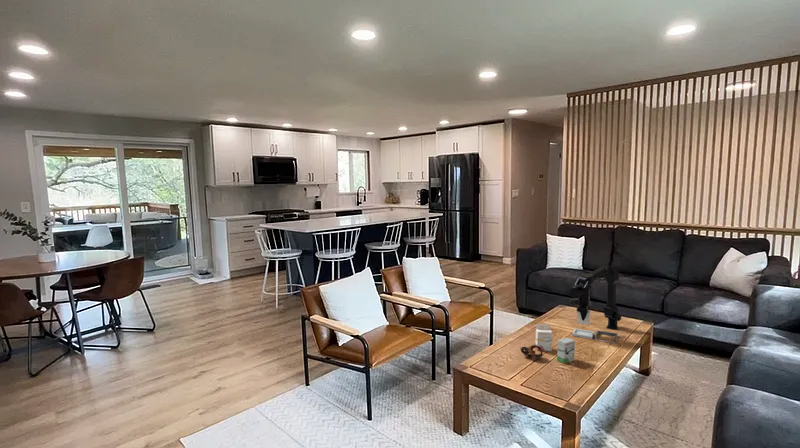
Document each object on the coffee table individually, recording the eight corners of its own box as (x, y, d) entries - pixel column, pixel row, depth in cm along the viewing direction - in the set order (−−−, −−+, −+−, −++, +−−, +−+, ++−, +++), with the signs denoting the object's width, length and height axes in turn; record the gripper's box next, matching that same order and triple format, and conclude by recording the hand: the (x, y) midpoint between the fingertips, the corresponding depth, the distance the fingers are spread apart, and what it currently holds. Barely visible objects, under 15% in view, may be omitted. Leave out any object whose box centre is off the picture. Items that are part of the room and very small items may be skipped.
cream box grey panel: (578, 320, 263) (578, 308, 263) (590, 322, 260) (590, 309, 259) (577, 323, 259) (577, 310, 258) (589, 325, 256) (589, 312, 255)
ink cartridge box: (537, 350, 238) (537, 326, 237) (535, 347, 243) (535, 323, 242) (552, 351, 237) (552, 327, 236) (549, 347, 242) (550, 324, 241)
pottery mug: (539, 354, 235) (544, 345, 230) (539, 368, 227) (544, 359, 222) (518, 348, 236) (522, 339, 232) (518, 361, 229) (522, 352, 224)
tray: (574, 331, 268) (574, 328, 267) (594, 334, 261) (594, 331, 261) (572, 336, 259) (572, 333, 259) (592, 339, 253) (592, 336, 253)
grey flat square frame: (596, 333, 263) (597, 330, 263) (617, 336, 257) (617, 333, 257) (594, 339, 253) (594, 336, 253) (615, 343, 247) (615, 340, 246)
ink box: (564, 363, 221) (564, 343, 220) (556, 360, 226) (557, 340, 224) (574, 360, 225) (575, 339, 224) (567, 357, 230) (568, 336, 228)
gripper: (573, 290, 270) (572, 312, 271) (568, 297, 254) (567, 321, 256) (591, 292, 264) (590, 315, 265) (587, 299, 248) (587, 324, 250)
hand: (583, 319), depth 259 cm, fingers closed on cream box grey panel, 5 cm apart
